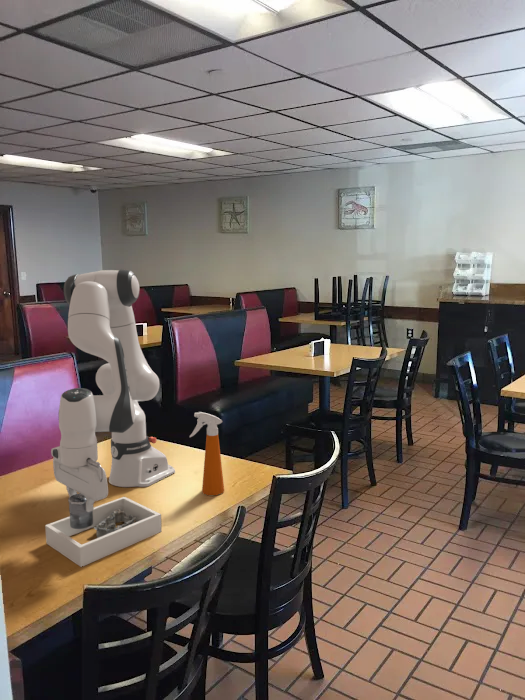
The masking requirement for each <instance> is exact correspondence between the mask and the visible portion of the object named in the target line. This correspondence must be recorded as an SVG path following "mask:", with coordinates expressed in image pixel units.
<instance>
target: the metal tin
mask: <svg viewBox="0 0 525 700" xmlns="http://www.w3.org/2000/svg"><path fill="white" fill-rule="evenodd" d="M86 501H87V500H86V499H85V496H84V495H82V494H81V493H79V492H78V493H77V494H75V495H72V496H68V507H69V509H68V510H69V516H70V526H71V527H72V528H74V529H83V528H87V527H89V526H91V525H92V524H93V511H90V512H87V511H85V510H84V504H86Z"/></svg>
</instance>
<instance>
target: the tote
mask: <svg viewBox="0 0 525 700" xmlns="http://www.w3.org/2000/svg"><path fill="white" fill-rule="evenodd" d="M93 508H94V509H93V524H92V525H91V526H89V527H87V528H83V529H74V528H72V527H71V526H70V515H69V516H67V517H64V518H61V519H59V520H56V521H54V522H50V523H47V524H45V525H44V528H45V529H44V530H45V539H46V540H45V541H46V542H45V543H46V545H48V546H50V547H51V548H52V549H54V550H55V551H57V552H58V553H60V554H61V555H63V556H64V557H66V559H69V560H70V561H72V562H73V563H74V564H76V565H78V566H79V567H80V568H83V567H85V566H87V565H89V564H91V563H93V562H94V563H95V561H98V560H101V559H103V558H105V557H107V556H109V555H112V554H114V553H116V552H119V551H120V550H123V549H125V548H128V547H130V546H132V545H134V544H136V543H140V541H144V540H145V539H148V538H150V537H152V536H154V535H156V534H159V533H161V532H162V514H161V513H159V512H157V511H155V510H153V509H152V508H149V507H148V506H145V505H143V504H142V503H141V504H140V503H138V502H137V501H135V500H133V499H131V498H129V497H126V496H122V497H119V498H116V499H113V500H111V501H108V502H105V503H103V504H100V505H97V506H93ZM117 509H119V510H120V511H123V512H125V514H126V516H128V517H129V515H131V516H132V517H133V516H135V517H137V518H135V519H134V521H135V523H133V524H131V525H128V526H126V527H124V528H121V529H119V530H116V531H114V532H111V533H109V534H107V535H104V536H102V537H99V538H98V537H96V538H94V539H92V540H89V541H87V542H85V543H82V544H81V543H80V542H78V541H76V540H75V539H73V538H72V536H75V535H77V534H79V533H82V532H84V531H87V530H89V529H92V528H93V527H96V526H97V525H98V524H99V523H100V522H102V521H104V520H105V519H106V518H107V517H109V516H110V515H111V513H112V512H113V511H115V510H117ZM82 566H83V567H82Z"/></svg>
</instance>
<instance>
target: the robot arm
mask: <svg viewBox="0 0 525 700" xmlns="http://www.w3.org/2000/svg"><path fill="white" fill-rule="evenodd" d="M63 295H64V299H65V301H66V303H67V305H69V309H68V316H67V317H68V318H67V334H68V338H69V340H70V343H72V344H73V345H74V347H76V348H78V349H79V350H81V351H82V352H84V353H87V354H89V355H92V356H95V357H98V358H100V359H103V360H104V361H106V362H107V363H105V364H102V365H101V366H100V367H99V368H98V369H97V372H96V373H95V383H96V386H97V387H98V388H99V389H100V391H101V392H102V395H101V394H99V395H98V394H97V395H94V394H93V392H92V391H91V390H90V389H88V388H83V387H82V388H81V387H77V388H76V387H75V388H70V389H68V390H65V391H64V392H63V393H61V395H60V399H59V407H58V428H59V431H60V435H61V436H60V441H59V446H56V447H52V448H51V451H50V453H51V457H53V458H52V459H53V460H52V465H53V475H54V478H55V481H57V482H58V483H60V484H62V485H64V486H65V487H66V490H67V491H66V492H67V494H68V497H70V496H72V495H75V494H79V493H81V494H82V495H84V496H85V499H86V500H87V501H86V504H84V510H85V511H87V512H90V511H93V509H94V503H95V502H97V501H101V500H103V499H106V498H107V497H108V495H109V487H108V486H109V484H111V485H112V486H116V487H120V488H121V487H122V488H131V487H133V488H134V487H142V488H146V487H149V486H151V485H153V484H155V483H157V482H159V480H160V481H162V480H163V478H164V479H165V477H166V478H167V476H168V477H169V475H170V476H172V475H174V474H175V473H176V469H175V467H173V466H172V465H170V464H169V461H168V458H167V456H166V454H164V453H163V452H162V451H160V450H158V448H155V447H154V446H152V445H151V443H152V444H156V443H157V437H155V436H154V437H153V436H148V435H147V422H146V414H145V411H144V410H143V409H142V407H141V406H140V405H139V404H140V403H139V402H145V401H150V400H152V399H154V398H155V397H156V396H157V394H158V393H159V390H160V378H159V376H158V375H157V374H156V373H155V372H154V371H153V370H152V368H151V367H150V365H149V364H148V361H147V359H146V358H145V355H144V353H143V351H142V348H141V345H140V342H139V337H138V332H137V325H136V324H137V323H136V319H135V314H134V310H133V306H132V305H133V304H135V303H136V301H138V300H137V299H139V296H140V282H139V279H138V277H137V274H135V273H134V271H132V270H131V269H130V270H129V269H122V268H121V269H119V270H115V269H106V270H105V269H102V270H98V271H97V270H96V271H91V272H85V273H76V274H72V275H70V276H68V277H67V279H66V280H65V282H64V284H63ZM100 432H101V433H102V432H104V433H105V432H108V433H109V432H110V433H111V439H110V453H111V465H110V466H111V468H110V473H109V478H107V474H106V473H107V472H106V470H105V468H103V467H102V466H101V463H100V462H99V461H98V458H99V455H98V438H97V435H96V433H100ZM173 473H174V474H173ZM171 474H172V475H171ZM108 482H109V484H108Z"/></svg>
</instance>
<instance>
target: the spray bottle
mask: <svg viewBox="0 0 525 700" xmlns="http://www.w3.org/2000/svg"><path fill="white" fill-rule="evenodd" d="M193 417H194V418H197V420H196V421H197V424H196V426H195V427H194V429H193V431H192V433H191V434H190V435H189V438H192V437H194V436H195V435H196V434H197V433H198V432H199V431H200V430H201V429H202V428H203V426H205V425H207V427H206V439H205V440H206V441H205V452H204V462H203V465H204V466H203V476H202V487H201V492H202V494H204V495H205V494H206V495H205V496H209V495H216V496H219V495H218V494H220V495H222V494H223V493H224V492H225V485H224V483H225V482H224V475H223V474H224V473H223V466H222V457H221V456H222V455H221V449H220V448H221V447H220V439H219V428H218V425H220V424H222V423H223V420H222V419H220V418H219V417H217V416H216V415H213V414H210V413H206V412H202V411H198V412H194V414H193ZM221 493H222V494H221Z"/></svg>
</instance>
